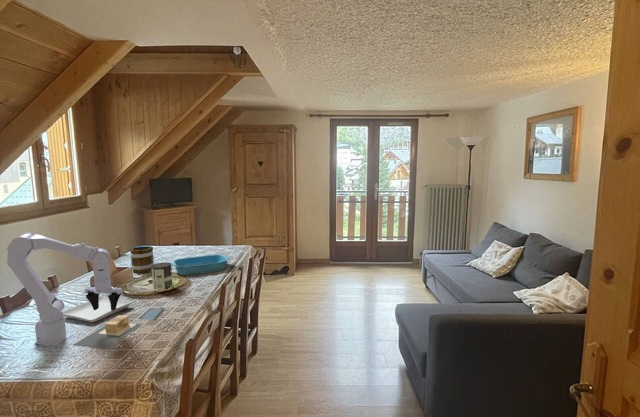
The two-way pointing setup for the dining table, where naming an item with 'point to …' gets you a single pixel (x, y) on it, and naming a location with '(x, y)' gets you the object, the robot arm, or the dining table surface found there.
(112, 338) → the mat
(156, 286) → the coffee can
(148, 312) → the smartphone
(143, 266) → the mug
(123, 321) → the pine block
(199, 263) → the casserole dish
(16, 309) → the dining table surface
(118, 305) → the salad plate
